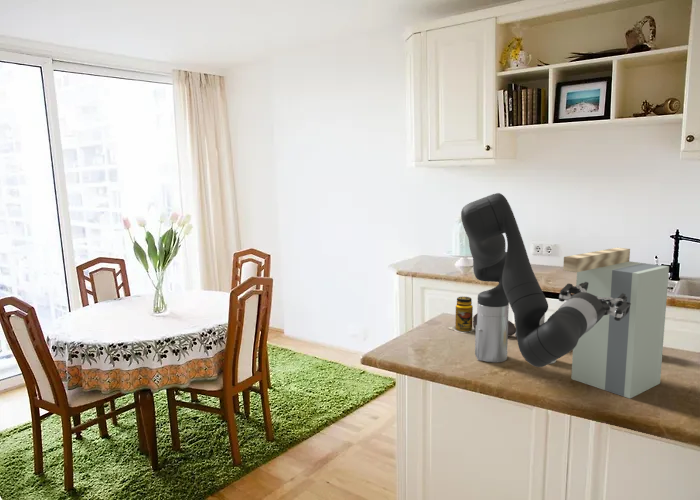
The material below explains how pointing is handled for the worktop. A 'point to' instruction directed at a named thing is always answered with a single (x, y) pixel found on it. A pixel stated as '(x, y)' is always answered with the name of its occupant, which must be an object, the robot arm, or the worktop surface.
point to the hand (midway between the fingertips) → (604, 291)
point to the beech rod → (596, 259)
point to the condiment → (463, 315)
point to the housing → (624, 330)
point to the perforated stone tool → (510, 326)
